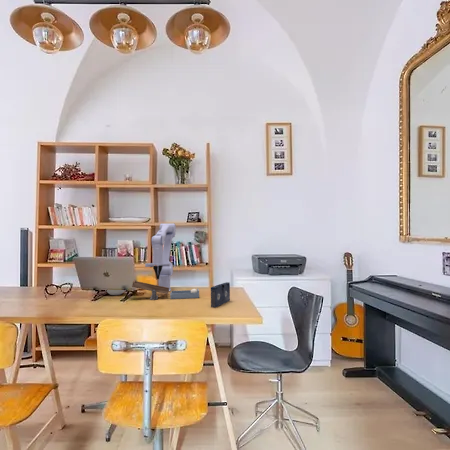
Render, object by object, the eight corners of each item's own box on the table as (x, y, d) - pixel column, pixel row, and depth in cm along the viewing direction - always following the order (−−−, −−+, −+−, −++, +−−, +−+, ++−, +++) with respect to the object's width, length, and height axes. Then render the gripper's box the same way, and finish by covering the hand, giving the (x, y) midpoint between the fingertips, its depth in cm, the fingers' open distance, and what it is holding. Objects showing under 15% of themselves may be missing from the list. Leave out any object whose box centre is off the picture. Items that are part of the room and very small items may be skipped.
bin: (170, 296, 199) (170, 289, 200) (198, 295, 202) (198, 288, 202) (170, 299, 191) (170, 291, 191) (199, 298, 193) (199, 290, 193)
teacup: (127, 292, 211) (127, 279, 211) (120, 296, 200) (120, 282, 200) (106, 292, 212) (106, 279, 212) (97, 296, 201) (97, 282, 201)
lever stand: (151, 296, 199) (151, 286, 199) (158, 296, 199) (158, 286, 199) (149, 300, 188) (149, 289, 188) (157, 299, 189) (157, 289, 189)
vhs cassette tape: (226, 300, 187) (225, 282, 187) (230, 300, 186) (230, 282, 186) (209, 307, 170) (209, 287, 171) (215, 307, 169) (214, 287, 169)
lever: (134, 282, 203) (136, 277, 204) (168, 289, 206) (169, 284, 206) (131, 286, 189) (133, 281, 189) (167, 294, 191) (169, 288, 192)
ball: (198, 293, 199) (191, 296, 199) (196, 287, 199) (189, 289, 199) (198, 295, 195) (191, 297, 195) (196, 288, 195) (189, 290, 195)
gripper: (144, 256, 198) (144, 280, 198) (170, 256, 201) (170, 279, 200) (145, 255, 205) (145, 278, 205) (170, 255, 208) (170, 277, 207)
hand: (157, 278), depth 203 cm, fingers closed
